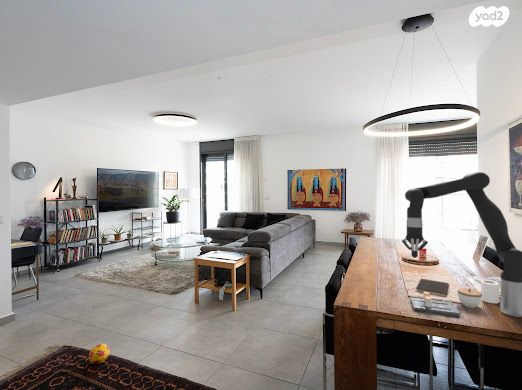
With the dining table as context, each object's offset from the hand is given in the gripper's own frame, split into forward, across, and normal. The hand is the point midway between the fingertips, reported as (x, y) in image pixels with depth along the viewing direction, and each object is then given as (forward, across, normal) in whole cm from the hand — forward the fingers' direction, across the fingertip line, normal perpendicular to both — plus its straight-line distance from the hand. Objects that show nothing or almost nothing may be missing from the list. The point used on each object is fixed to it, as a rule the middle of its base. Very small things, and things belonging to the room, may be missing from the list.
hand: (414, 257), depth 149 cm
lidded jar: (+27, -28, -12) cm, 41 cm away
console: (+27, -9, -1) cm, 28 cm away
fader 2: (+24, -6, +3) cm, 25 cm away
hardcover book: (+28, -15, -35) cm, 47 cm away
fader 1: (+24, -6, -4) cm, 26 cm away
